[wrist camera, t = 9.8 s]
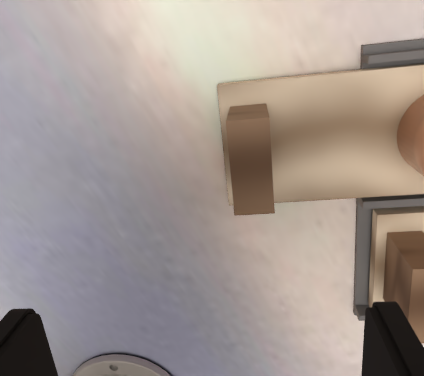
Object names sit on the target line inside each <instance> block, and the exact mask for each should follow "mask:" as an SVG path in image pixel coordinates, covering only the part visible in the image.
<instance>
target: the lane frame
mask: <svg viewBox="0 0 424 376" xmlns="http://www.w3.org/2000/svg"><path fill="white" fill-rule="evenodd" d="M419 63H424V39H417V40H407V41H398V42H389V43H380V44H370V45H361V69H369V68H379V67H389V66H399V65H409V64H419ZM412 206H424V194H413V195H397V196H380V197H363V198H357V211H356V245H355V278H354V311H353V312H354V315H357V317H358V319H359V321H363V320H365V311H366V308H368V307H369V304H368V299H369V278H370V256H371V235H372V213H373V209H377V208H395V207H412Z"/></svg>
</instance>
